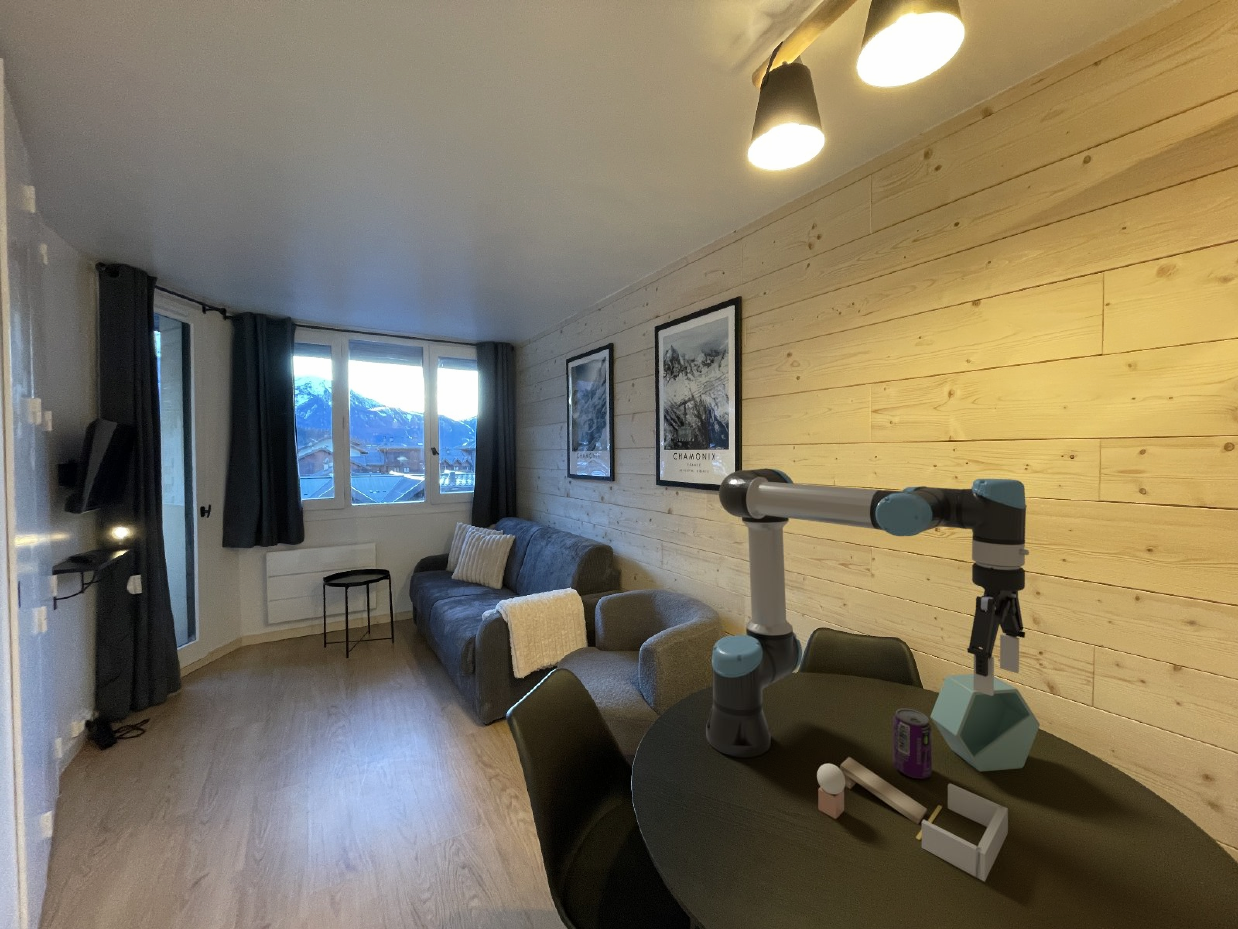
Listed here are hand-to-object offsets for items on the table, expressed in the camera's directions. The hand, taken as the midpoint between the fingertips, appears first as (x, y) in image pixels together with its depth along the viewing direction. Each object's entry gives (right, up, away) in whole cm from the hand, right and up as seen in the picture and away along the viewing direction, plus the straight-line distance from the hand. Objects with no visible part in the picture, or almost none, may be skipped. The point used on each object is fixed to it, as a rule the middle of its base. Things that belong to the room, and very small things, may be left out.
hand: (997, 681), depth 88 cm
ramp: (-16, -27, +8) cm, 33 cm away
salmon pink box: (-28, -27, +6) cm, 39 cm away
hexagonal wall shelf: (+13, -27, +20) cm, 35 cm away
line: (-11, -27, +2) cm, 29 cm away
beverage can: (-5, -27, +16) cm, 32 cm away
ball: (-28, -21, +5) cm, 35 cm away
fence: (-7, -27, -2) cm, 28 cm away
